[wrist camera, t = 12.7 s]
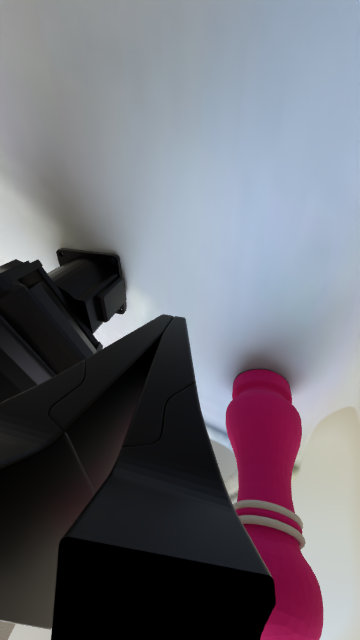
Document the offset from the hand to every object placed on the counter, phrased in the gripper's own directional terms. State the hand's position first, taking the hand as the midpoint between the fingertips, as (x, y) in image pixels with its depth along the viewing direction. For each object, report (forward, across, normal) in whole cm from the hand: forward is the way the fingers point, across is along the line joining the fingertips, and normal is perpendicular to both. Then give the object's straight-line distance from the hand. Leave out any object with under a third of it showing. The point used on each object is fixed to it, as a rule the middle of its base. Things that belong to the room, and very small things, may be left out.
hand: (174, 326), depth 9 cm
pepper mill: (+13, -7, +17) cm, 23 cm away
